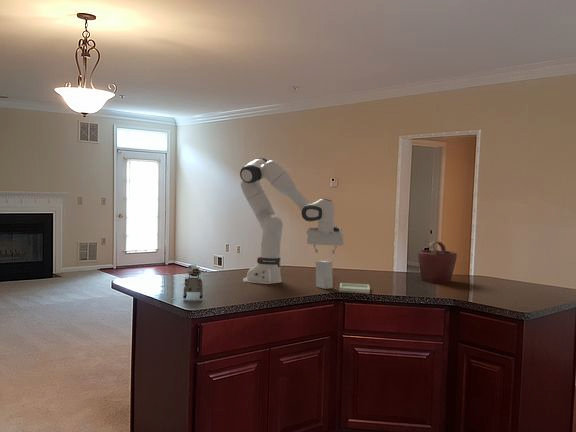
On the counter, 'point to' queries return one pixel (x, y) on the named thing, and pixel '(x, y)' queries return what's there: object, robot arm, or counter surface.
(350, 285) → the sage tray
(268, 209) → the robot arm
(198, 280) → the figurine
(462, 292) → the counter surface
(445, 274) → the bucket
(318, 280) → the skincare box
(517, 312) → the counter surface
